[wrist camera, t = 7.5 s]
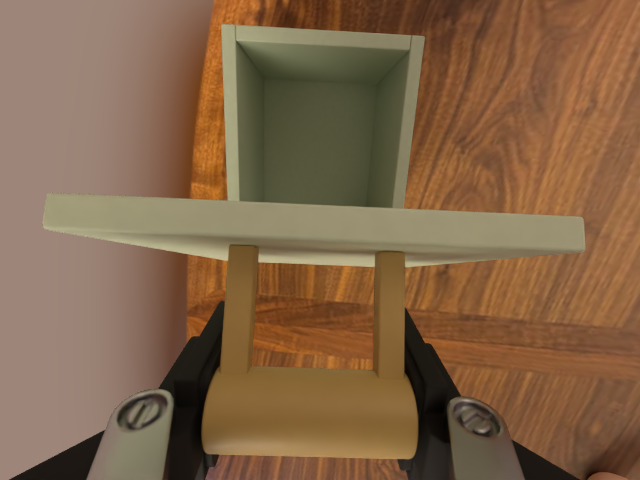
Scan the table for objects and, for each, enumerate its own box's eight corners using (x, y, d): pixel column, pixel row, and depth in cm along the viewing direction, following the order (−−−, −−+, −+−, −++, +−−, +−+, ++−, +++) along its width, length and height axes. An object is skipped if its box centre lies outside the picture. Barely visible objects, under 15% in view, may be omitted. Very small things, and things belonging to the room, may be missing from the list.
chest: (256, 70, 28) (220, 23, 17) (385, 77, 28) (425, 35, 18) (257, 218, 32) (229, 252, 21) (370, 223, 32) (397, 259, 21)
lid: (44, 191, 6) (-1, 503, 6) (586, 215, 7) (603, 515, 6) (227, 249, 21) (221, 340, 20) (399, 256, 21) (398, 346, 20)
